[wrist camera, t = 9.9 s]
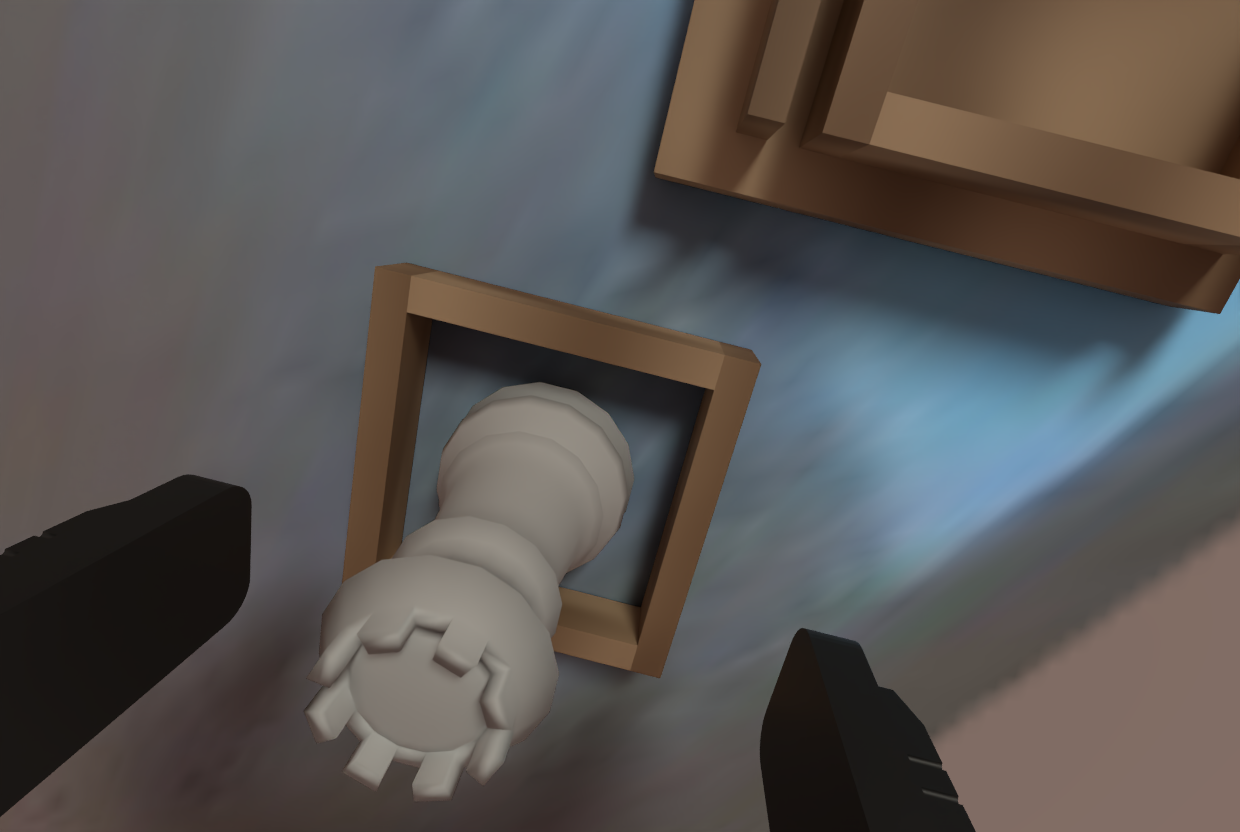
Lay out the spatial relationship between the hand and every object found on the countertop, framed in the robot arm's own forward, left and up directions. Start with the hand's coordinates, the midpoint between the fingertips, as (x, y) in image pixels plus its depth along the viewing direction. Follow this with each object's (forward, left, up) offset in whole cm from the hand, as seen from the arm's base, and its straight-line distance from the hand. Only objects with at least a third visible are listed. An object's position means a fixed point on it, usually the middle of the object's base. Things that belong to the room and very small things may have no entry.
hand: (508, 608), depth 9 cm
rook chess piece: (-1, 0, -6) cm, 6 cm away
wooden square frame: (-1, 0, -6) cm, 6 cm away
